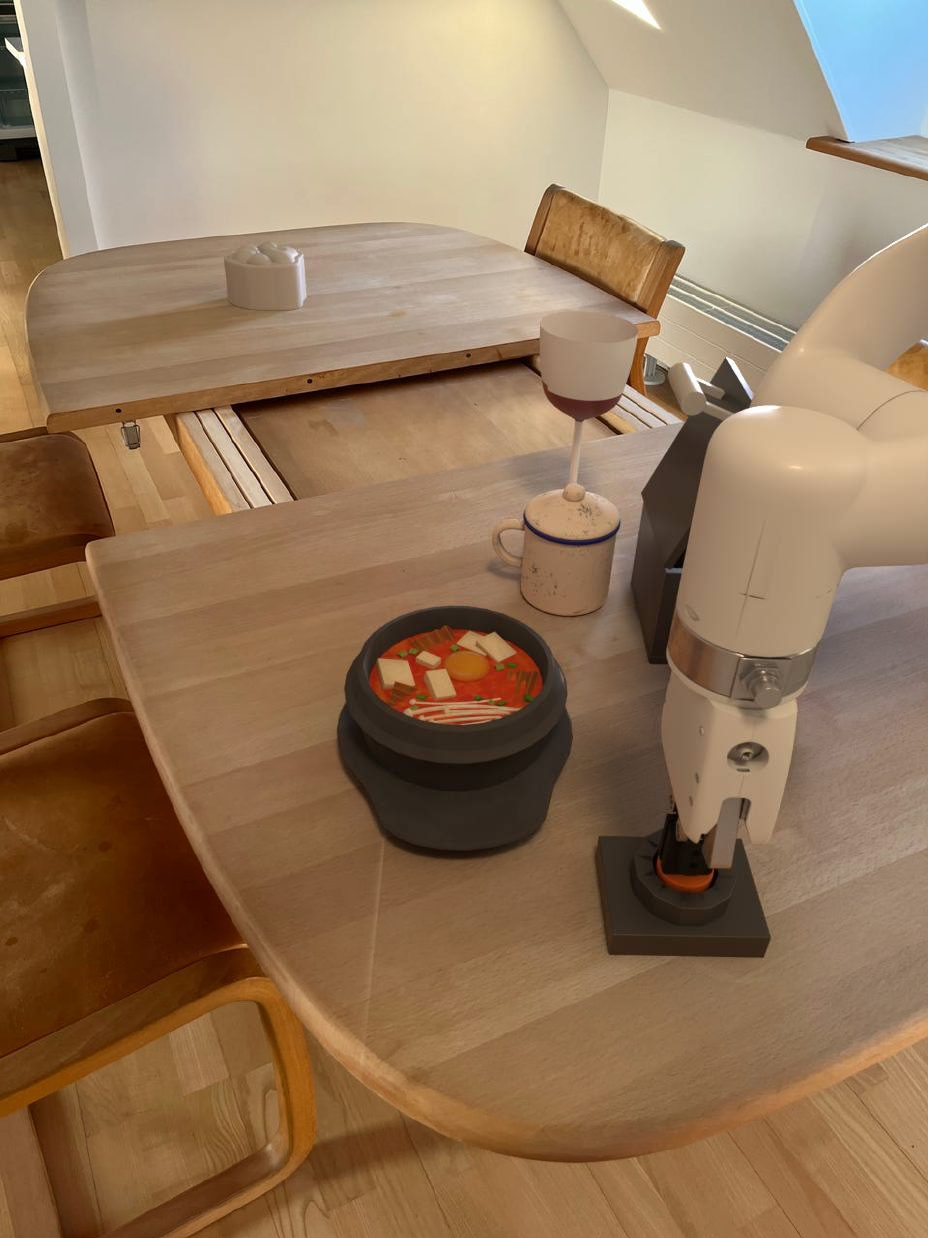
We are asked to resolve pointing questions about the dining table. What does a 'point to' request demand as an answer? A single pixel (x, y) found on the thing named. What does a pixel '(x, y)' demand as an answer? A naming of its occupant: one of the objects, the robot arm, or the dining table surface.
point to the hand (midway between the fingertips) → (683, 864)
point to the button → (684, 881)
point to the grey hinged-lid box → (654, 592)
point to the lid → (690, 452)
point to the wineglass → (585, 366)
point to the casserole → (456, 727)
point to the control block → (676, 905)
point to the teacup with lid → (564, 550)
